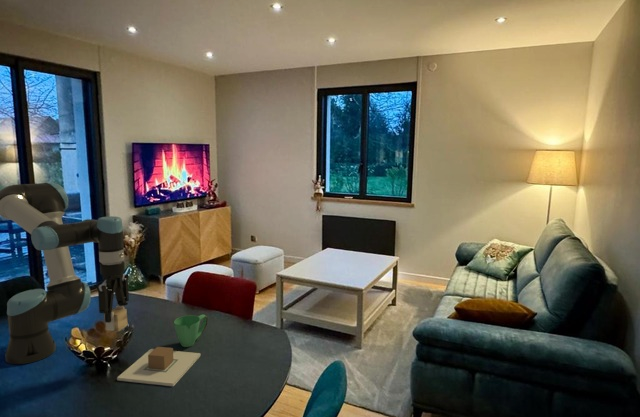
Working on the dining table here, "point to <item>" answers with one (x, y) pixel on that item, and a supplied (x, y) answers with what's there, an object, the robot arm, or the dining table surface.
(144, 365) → the cream square board
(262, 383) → the dining table surface
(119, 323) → the oak block
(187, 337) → the mug
